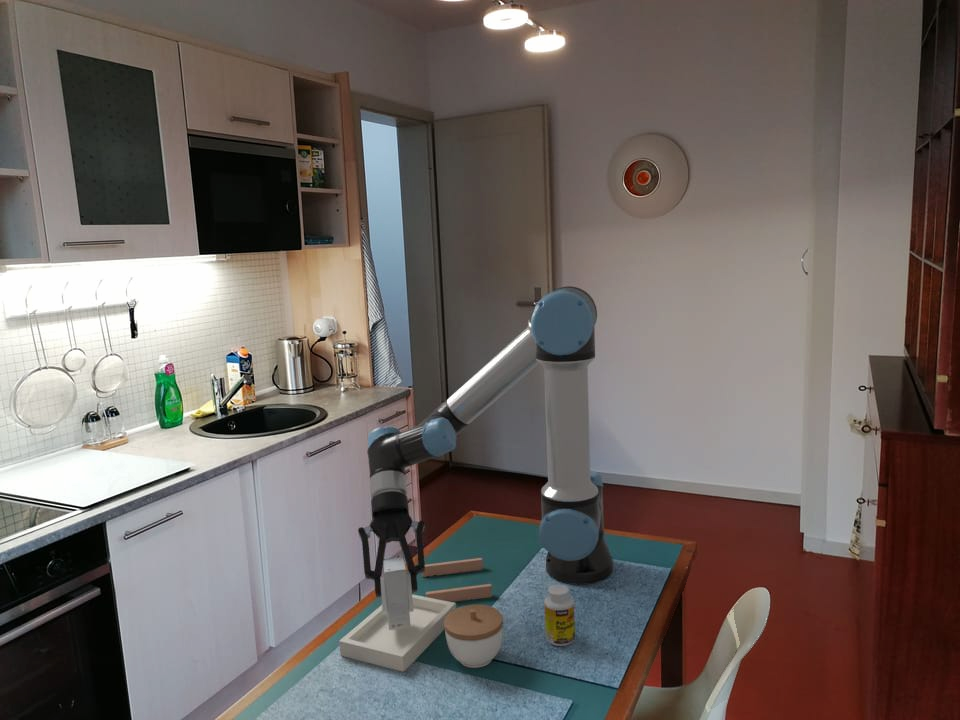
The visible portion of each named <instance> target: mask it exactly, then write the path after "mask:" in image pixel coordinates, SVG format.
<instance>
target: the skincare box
mask: <svg viewBox="0 0 960 720" xmlns="http://www.w3.org/2000/svg"><path fill="white" fill-rule="evenodd" d="M407 574H408V573H407V564H406V561H405V558H404V556H398V557H391V558H384V560H383V576H384V579H385V591H386V605H387V617H388V625H389V630H396V629H402V628H409V627H410V613H409V600H408V587H407Z"/></svg>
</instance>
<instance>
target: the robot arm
mask: <svg viewBox="0 0 960 720" xmlns="http://www.w3.org/2000/svg"><path fill="white" fill-rule="evenodd" d="M596 305H597V304H596V303H595V301H594V299H593V298H592V296H591V295H590V294H589V293H588V292H587V291H586V290H585V289H584V290H583V289H582V288H579V287H578V286H572V285H571V286H569V285H568V286H561V287H559V288H556V289H555V290H553V291H550V292H549V293H547V294H545V295H543V297H542V298H541V299H539V301H538V302H537V303H536V305H535V307H534V309H533V311H532V316H531V317H530V318H529V319H528V320H527V321H528V322H527V327H526V328H525V329H524V330H522V331H521V333H519V334H518V335H517V336H516V337H515V338H513V340H512V341H510V342H509V343H508V344H507V345H506V346H505V347H504V348H503V349H501V351H499V352H498V353H497V354H496V355H495V356H494V357H493V358H491V359H490V360H489V361H488V362H487V363H486V364H485V365H484V366H482V367H481V368H480V369H479V370H478V371H477V372H476V373H474V375H473V376H471V377H470V378H469V379H468V380H467V381H466V382H465V383H464V384H463V385H462V386H460V387H459V388H458V389H457V390H456V391H454V393H452V395H451V396H449V397H448V398H447V399H446V400H445V401H444V402H442V403H441V405H439V406H438V407H437V408H435V409H434V410H433V411H432V412H431V413H430V415H428V416H427V417H426V418H425V419H423V420H422V421H421V422H420V423H419V424H418V425H415V426H413V427H409V428H408V429H406V430H402V431H400V429H398V428H396V427H394V426H390V425H388V426H384V427H383V426H379V427H378V428H375V429H373V430H371V432H370V433H369V434H368V436H367V451H366V453H367V458H368V459H367V460H368V468H369V491H370V499H371V501H370V505H371V506H370V507H371V521H370V523H369V525H367V526H365V527H359V528H358V530H357V532H358V536H359V539H360V542H361V546H362V559H363V560H362V561H363V569H364V570H363V571H364V577H365V579H367V580H373V581H374V594H375V596H376V598H381V605H382V611H383V615H387V606H386V591H385V579H384V575H383V576H382V573H383V569H384V565H383V560H384V559H385V553H386V548H387V544H389V543H391V542H396V543H397V542H398V543H399V547H400V550H401V552H402V554H403V557H404V561H405V565H406V568H407V571H408V573H406V574H407V587H408V600H409V611H410V612H413V598H412V594H414V593H418V579H417V576H418V575H419V574H422V572H424V571H425V565H426V564H425V554H424V553H425V552H424V551H425V550H424V540H423V535H424V534H423V533H424V531H425V522H424V520H419V521H416V520H413V518H412V517H411V515H410V511H409V501H408V500H409V498H408V496H407V494H408V490H407V489H408V487H407V479H406V478H407V477H406V468H409V467H411V466H414V465H416V464H419V463H422V462H425V461H429V460H430V459H433V458H438V457H441V456H443V455H445V454H447V453H450V452H452V451H454V450H455V448H456V446H457V435H458V434H460V433H461V432H462V431H463V430H464V429H465V428H467V427H468V426H469V425H470V424H471V423H472V422H473V421H474V420H476V418H478V417H479V416H480V415H481V414H483V413H484V412H485V411H486V410H487V409H488V408H489V407H490V406H492V405H493V404H495V402H496V401H497V400H499V399H500V398H501V397H502V396H503V395H504V394H506V393H507V392H508V391H509V390H510V389H512V388H513V386H515V385H516V384H517V383H518V382H519V381H521V380H522V379H523V378H524V377H525V376H527V374H529V373H530V372H531V371H532V370H533V369H535V367H537V366H538V365H539V364H540V365H541V366H542V367H543V374H544V376H543V377H544V401H545V402H544V403H545V404H544V406H545V407H544V408H545V426H546V427H545V430H546V433H545V434H546V457H547V459H546V461H547V462H546V463H547V480H548V481H547V482H546V483H545V484H544V485H543V486H542V487H541V491H540V496H541V497H540V499H541V521H540V522H539V526H538V535H539V541H540V543H541V545H542V546H543V548H544V549H545V550H546V552H547V554H546V558H545V570H546V573H547V575H548V576H549V577H550V578H552V579H554V580H555V581H558V582H561V583H565V584H570V585H590V584H594V583H595V584H596V583H600V582H602V581H604V580H606V579H607V578H609V577H610V576H611V575H612V574H613V572H614V565H613V563H614V561H613V557H612V555H611V553H610V549H609V547H608V543H607V541H606V537H605V532H604V531H605V525H604V498H603V497H604V496H603V490H604V489H603V488H604V484H603V478H602V475H601V473H599V472H597V471H595V470H591V452H590V451H591V449H590V448H591V445H590V443H591V442H590V410H589V409H590V408H589V407H590V406H589V379H588V377H589V375H588V374H589V373H588V372H589V370H588V369H589V368H588V367H589V365H590V364H591V363H592V362H593V361H594V360H595V359H596V343H595V342H596V340H595V339H596V338H595V336H596V335H595V331H596V329H595V327H596V326H595V325H596V323H597V319H598V311H597V306H596ZM411 528H412V529H413V533H414V534H415V535H416V536H415V538H416V539H415V541H416V549H417V550H416V552H417V553H416V554H417V564H416V565H415V563H414V562H415V561H414V560H413V556H412V553H411V551H410V550H411V549H410V548H409V544H408V542H407V541H408V540H407V537H406V536H407V534H408V533H409V530H410V529H411ZM371 532H373V534H374V535H375V536H376V537H377V538H378V539H379V540H378V545H377V546H378V547H377V553H376V560H375V567H374V570H372V567H371V556H370V544H369V539H370V538H371Z"/></svg>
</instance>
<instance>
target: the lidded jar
mask: <svg viewBox="0 0 960 720" xmlns="http://www.w3.org/2000/svg"><path fill="white" fill-rule="evenodd" d="M444 628H445V629H444V634H445V640H446V644H447V646H448V650H449V651H450V653H451V655H452V656H453V657H454V658H455V659H456V660H457V661H458V662H459V663H460V664H461V665H462V666H463V667H466V668H470V669H479V668H483V667H485V666H487V665H489V664H490V663H491V662H492V661H493V659H494V658H495V657H496V656H497V655H498V653H499V651H500V649H501V647H502V643H503V637H504V617H503V615H502V613H501V612H500V611H499V610H498V609H497V608H495V607H492V606H490V605H486V604H468V605H463V606H460V607H456V609H454V610H453V611H451V612H450V613H449V614H448V615H447V616H446V617H445V619H444Z"/></svg>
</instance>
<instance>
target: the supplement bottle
mask: <svg viewBox="0 0 960 720" xmlns="http://www.w3.org/2000/svg"><path fill="white" fill-rule="evenodd" d="M543 601H544V603H543V605H544V607H543V608H544V624H545V625H544V627H545V639H546V641H547V642H548V643H549V644H550V645H553V646H556V647H565V646H569V645H571V644H572V643H573V642H574V641H575V639H576V625H575V624H576V623H575V622H576V621H575V600H574V598H573V597H572V596H571V593H570V588H569V586H567V585H564V584H553V585H550V586H549V587H548V588H547V596H546V597H545V598H544V600H543Z"/></svg>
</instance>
